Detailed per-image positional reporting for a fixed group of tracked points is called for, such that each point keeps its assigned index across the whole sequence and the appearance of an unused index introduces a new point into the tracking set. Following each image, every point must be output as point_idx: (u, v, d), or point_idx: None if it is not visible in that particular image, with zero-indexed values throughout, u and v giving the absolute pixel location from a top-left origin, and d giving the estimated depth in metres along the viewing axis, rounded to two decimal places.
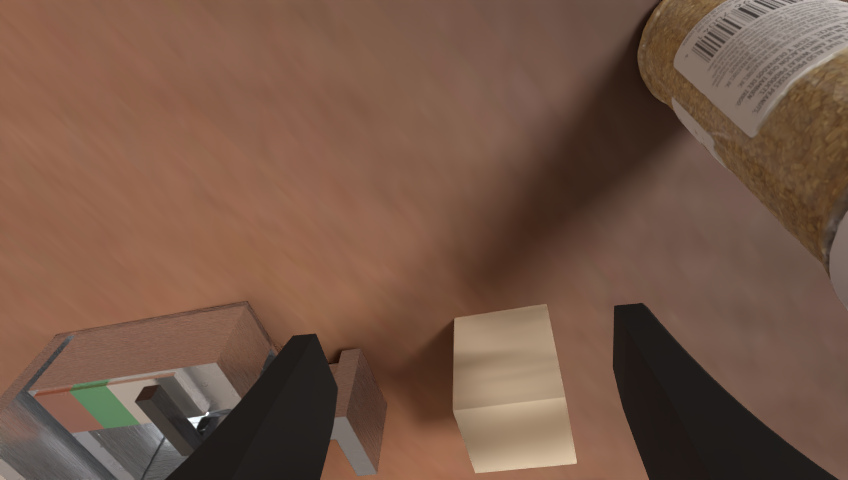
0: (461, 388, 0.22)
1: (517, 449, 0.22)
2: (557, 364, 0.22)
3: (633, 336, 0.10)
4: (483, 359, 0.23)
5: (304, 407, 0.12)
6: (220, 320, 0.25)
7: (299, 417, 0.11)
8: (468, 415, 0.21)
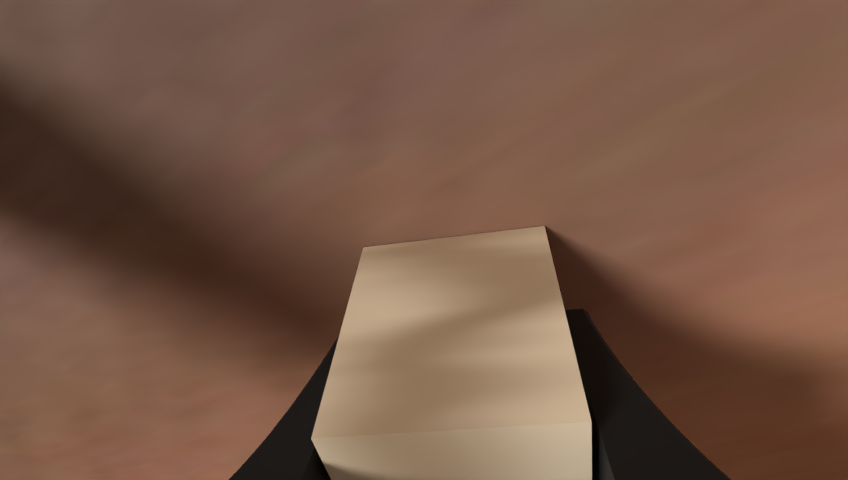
0: None
1: None
2: (332, 363, 0.10)
3: None
4: None
5: None
6: None
7: None
8: None
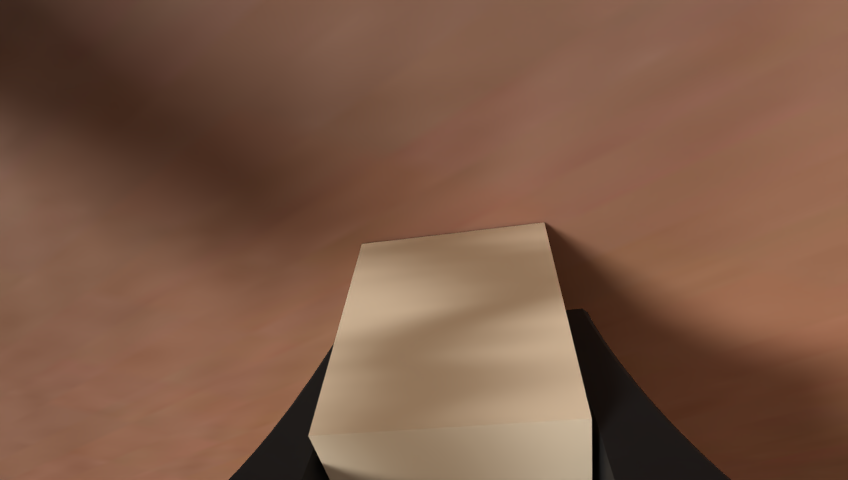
0: None
1: None
2: (330, 360, 0.10)
3: None
4: None
5: None
6: None
7: None
8: None
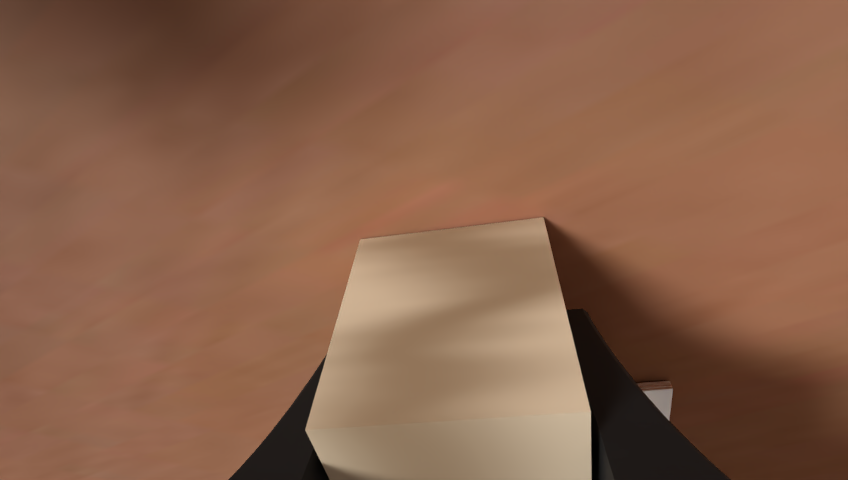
0: None
1: None
2: (328, 355, 0.10)
3: None
4: None
5: None
6: None
7: None
8: None
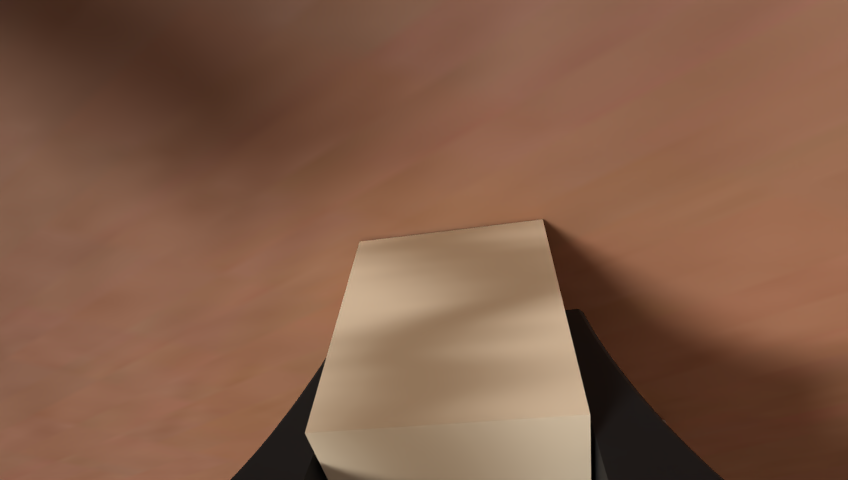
0: None
1: None
2: (327, 357, 0.10)
3: None
4: None
5: None
6: None
7: None
8: None
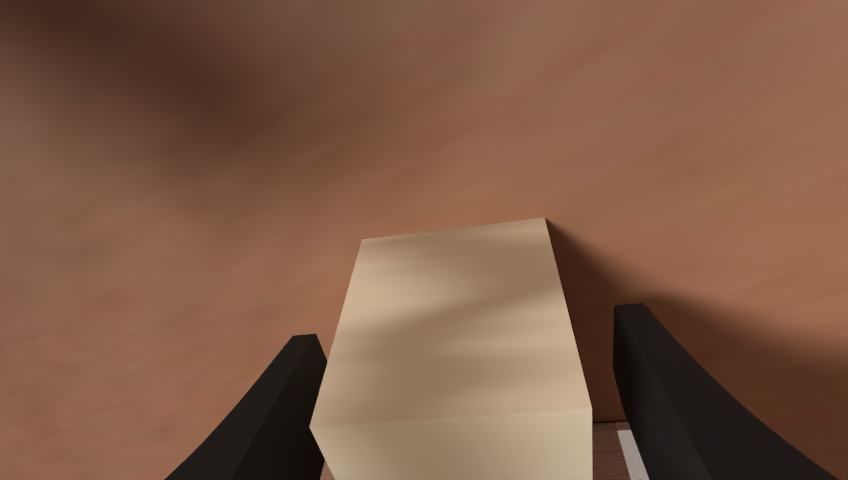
0: None
1: None
2: (331, 353, 0.10)
3: (633, 336, 0.10)
4: None
5: (304, 407, 0.12)
6: None
7: (299, 417, 0.11)
8: None
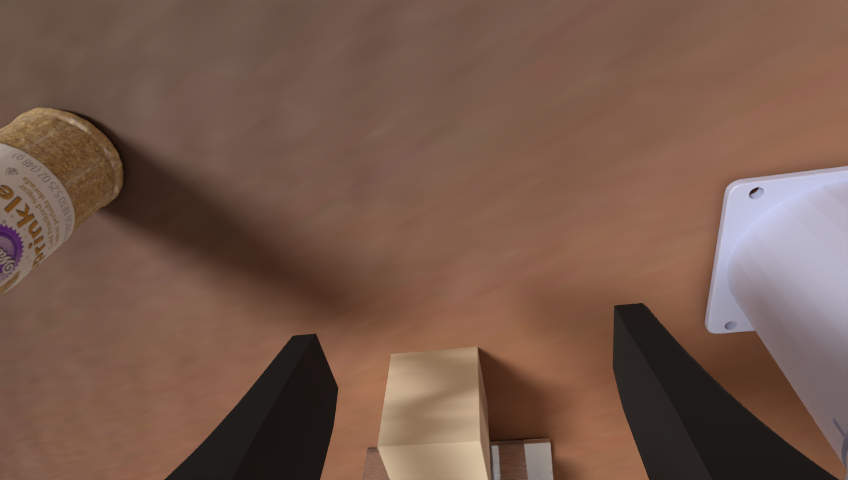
0: None
1: (454, 474, 0.24)
2: (382, 415, 0.24)
3: (633, 336, 0.10)
4: None
5: (304, 407, 0.12)
6: None
7: (299, 417, 0.11)
8: None
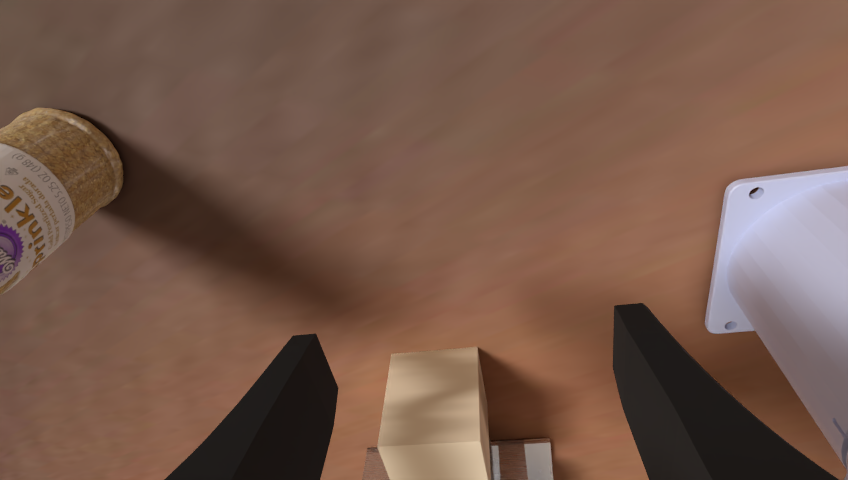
0: None
1: (454, 474, 0.24)
2: (382, 415, 0.24)
3: (633, 336, 0.10)
4: None
5: (304, 407, 0.12)
6: None
7: (299, 417, 0.11)
8: None
